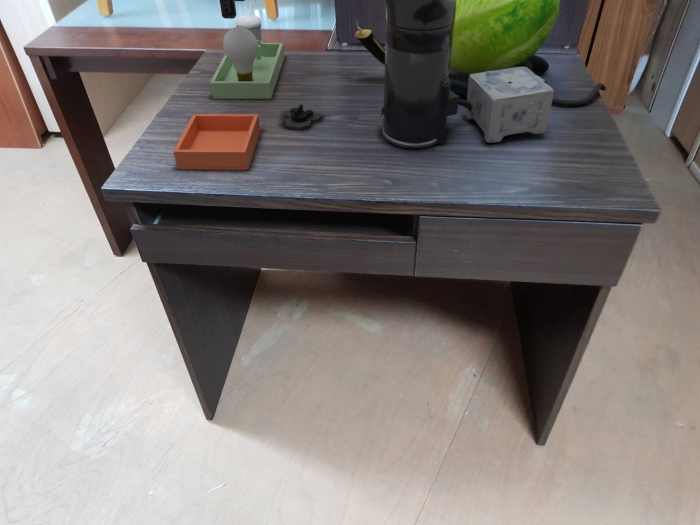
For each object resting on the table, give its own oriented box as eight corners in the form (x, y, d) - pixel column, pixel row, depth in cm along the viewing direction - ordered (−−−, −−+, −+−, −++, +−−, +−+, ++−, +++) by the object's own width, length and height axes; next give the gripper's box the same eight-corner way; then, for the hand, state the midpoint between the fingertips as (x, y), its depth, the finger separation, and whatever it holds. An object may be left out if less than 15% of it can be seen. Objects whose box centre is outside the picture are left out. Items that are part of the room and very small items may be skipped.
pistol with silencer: (488, 47, 83) (495, 93, 92) (357, 16, 95) (375, 60, 104) (475, 69, 82) (483, 113, 92) (344, 35, 94) (363, 78, 103)
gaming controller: (529, 80, 104) (507, 52, 101) (551, 65, 101) (528, 35, 99) (528, 105, 96) (503, 75, 94) (551, 89, 93) (526, 58, 91)
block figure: (274, 112, 86) (288, 97, 90) (276, 126, 88) (289, 111, 92) (310, 117, 85) (322, 102, 89) (311, 131, 86) (323, 115, 90)
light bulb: (225, 82, 100) (216, 25, 93) (257, 75, 101) (249, 19, 95) (235, 95, 96) (225, 36, 89) (267, 88, 97) (260, 30, 91)
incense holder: (517, 115, 91) (458, 116, 89) (531, 65, 86) (470, 64, 84) (544, 142, 84) (482, 144, 82) (562, 90, 79) (496, 90, 77)
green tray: (284, 57, 109) (283, 42, 107) (271, 99, 95) (269, 82, 93) (233, 57, 109) (231, 42, 107) (212, 98, 95) (209, 82, 94)
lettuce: (450, 117, 95) (446, 70, 106) (583, 52, 85) (564, 6, 95) (409, 51, 87) (408, 6, 97) (551, -32, 76) (534, -73, 86)
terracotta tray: (260, 131, 87) (258, 114, 85) (248, 169, 78) (245, 152, 76) (196, 130, 87) (193, 113, 85) (177, 169, 79) (173, 151, 77)
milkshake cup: (269, 59, 107) (263, 5, 100) (263, 70, 103) (256, 15, 96) (246, 59, 107) (238, 5, 101) (239, 70, 103) (231, 14, 97)
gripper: (234, -101, 73) (250, 24, 84) (252, -118, 84) (264, -5, 95) (178, -101, 74) (201, 24, 85) (204, -118, 84) (221, -5, 95)
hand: (235, 8), depth 90 cm, fingers open, 8 cm apart
